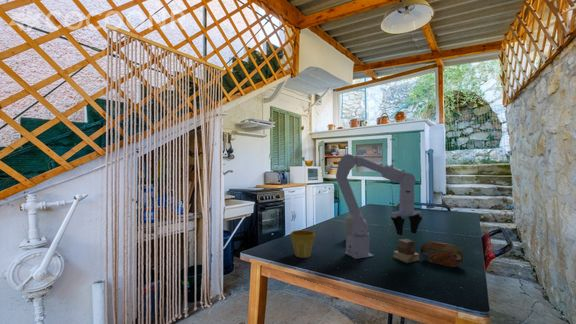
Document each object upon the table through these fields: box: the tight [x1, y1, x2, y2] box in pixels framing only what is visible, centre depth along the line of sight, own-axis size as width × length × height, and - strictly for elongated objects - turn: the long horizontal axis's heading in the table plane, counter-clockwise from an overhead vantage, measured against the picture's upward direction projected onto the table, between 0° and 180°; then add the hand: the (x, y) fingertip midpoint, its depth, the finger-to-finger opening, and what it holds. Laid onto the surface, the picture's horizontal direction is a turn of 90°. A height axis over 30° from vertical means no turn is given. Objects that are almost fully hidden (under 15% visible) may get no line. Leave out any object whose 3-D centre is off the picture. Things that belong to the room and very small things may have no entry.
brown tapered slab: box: [419, 240, 465, 268], centre depth 108 cm, size 15×3×8 cm, turn 48°
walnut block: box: [397, 238, 416, 255], centre depth 113 cm, size 4×4×5 cm
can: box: [344, 216, 354, 240], centre depth 140 cm, size 8×8×12 cm
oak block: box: [393, 250, 420, 264], centre depth 113 cm, size 7×7×3 cm
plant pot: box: [290, 229, 316, 259], centre depth 116 cm, size 10×10×10 cm
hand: (406, 233), depth 113 cm, fingers open, 7 cm apart
